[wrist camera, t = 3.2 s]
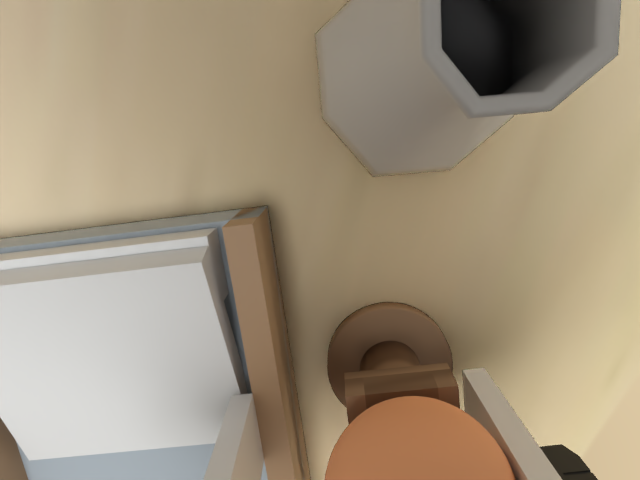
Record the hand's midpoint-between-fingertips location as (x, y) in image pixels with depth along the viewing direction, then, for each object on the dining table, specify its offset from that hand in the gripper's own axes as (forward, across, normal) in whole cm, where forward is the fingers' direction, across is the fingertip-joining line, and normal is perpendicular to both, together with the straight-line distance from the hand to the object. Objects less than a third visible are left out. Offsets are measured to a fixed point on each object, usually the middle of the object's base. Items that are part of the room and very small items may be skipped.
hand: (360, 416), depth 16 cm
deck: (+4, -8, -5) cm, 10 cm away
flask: (+3, +3, +11) cm, 12 cm away
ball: (-4, +1, 0) cm, 4 cm away
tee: (+3, +1, 0) cm, 4 cm away
